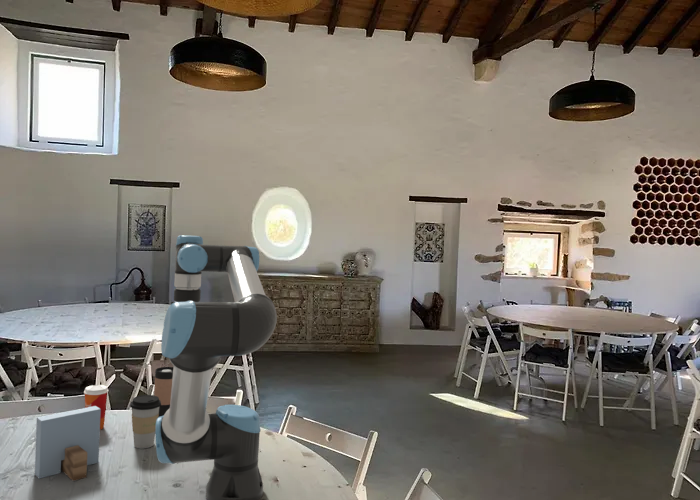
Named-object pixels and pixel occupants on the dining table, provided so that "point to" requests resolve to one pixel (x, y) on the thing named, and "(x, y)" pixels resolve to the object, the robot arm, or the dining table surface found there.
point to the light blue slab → (66, 438)
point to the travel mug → (163, 387)
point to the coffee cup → (144, 419)
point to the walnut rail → (75, 463)
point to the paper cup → (97, 399)
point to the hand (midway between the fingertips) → (184, 359)
